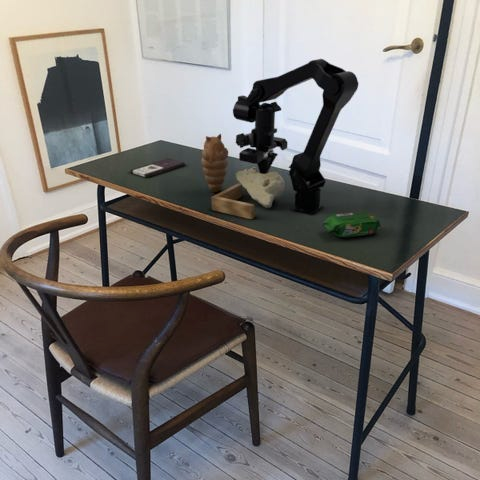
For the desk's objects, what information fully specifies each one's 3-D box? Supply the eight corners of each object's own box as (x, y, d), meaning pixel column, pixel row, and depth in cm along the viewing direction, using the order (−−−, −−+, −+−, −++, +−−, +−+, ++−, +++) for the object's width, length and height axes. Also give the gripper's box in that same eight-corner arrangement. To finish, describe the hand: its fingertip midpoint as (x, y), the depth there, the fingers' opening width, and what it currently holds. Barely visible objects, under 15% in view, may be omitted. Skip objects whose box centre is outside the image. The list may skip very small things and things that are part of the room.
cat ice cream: (210, 198, 165) (207, 139, 155) (197, 191, 170) (194, 134, 160) (233, 192, 169) (232, 135, 159) (220, 186, 174) (218, 129, 164)
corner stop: (276, 203, 160) (276, 191, 158) (251, 219, 150) (251, 206, 148) (238, 195, 167) (237, 183, 164) (211, 210, 157) (211, 197, 154)
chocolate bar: (184, 162, 193) (146, 174, 182) (184, 165, 194) (147, 177, 182) (168, 158, 198) (130, 169, 187) (168, 160, 199) (130, 172, 188)
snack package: (318, 231, 142) (319, 213, 139) (371, 225, 145) (374, 207, 142) (327, 242, 137) (329, 224, 134) (383, 235, 139) (386, 217, 136)
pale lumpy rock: (291, 211, 158) (288, 167, 162) (282, 201, 152) (279, 155, 156) (246, 223, 165) (244, 180, 169) (235, 214, 159) (234, 170, 163)
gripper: (258, 115, 164) (257, 164, 173) (223, 128, 151) (224, 181, 160) (289, 120, 159) (286, 170, 168) (256, 134, 146) (255, 188, 155)
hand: (263, 177), depth 163 cm, fingers closed
